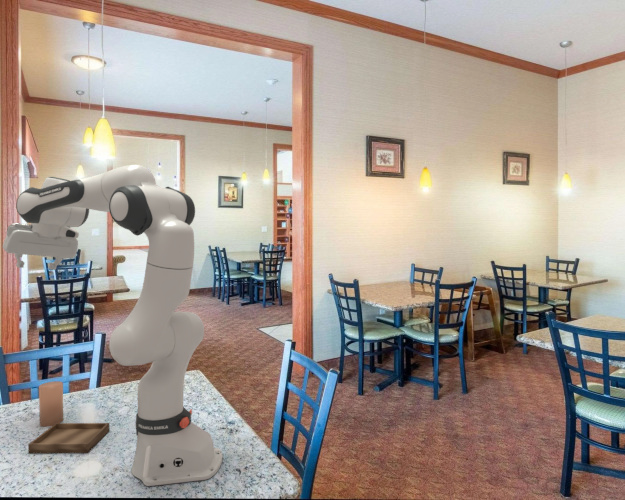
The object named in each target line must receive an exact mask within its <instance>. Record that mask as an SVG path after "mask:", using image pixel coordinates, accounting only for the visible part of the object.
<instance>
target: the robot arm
mask: <svg viewBox="0 0 625 500" xmlns="http://www.w3.org/2000/svg"><path fill="white" fill-rule="evenodd" d="M15 206H16V207H15V208H16V212H17V214H18V215H19V216H20V217H21V219H23V220H24V222H26V223H19V222H14V223H12V224H10V225H8V227H7V228H6V229H7V230H6V237H5V238H4V240H3V244H2V249H3V250H4V251H5V252H6V253H8V254H14V257H15V259H16V265H15V266H16V267H17V268H21V269H22V268H23V269H24V268H25V267H24V266H25V262H24V261H23V260H22V258H23V256H24V255H25V256H26V255H27V256H39V257H40V256H41V257H53V258H55V259H54V261H53V262H50V263H49V266H48V268H49V270H54V271H55V270H56V271H57V267H58V265H59V264H61V262H62V261H63V259H73V258H74V257H76V255H77V252H78V249H79V248H78V247H79V240H78V238H79V235H80V234H79V232H78V231H77V230H76V229H74V228H79V227H81V226H82V225H84V224H85V223H86V222H87V219H88V218H89V214H90V210H92V211H99V212H104V213H109V214H110V216H111V217H110V218H112V219H113V221H114V222H115V223H116V224H117V226H119V227H121V228H123V229H124V230H125V229H126V230H128V231H130V232H131V233H132V234H133V235H135V236H137V237H138V236H141V235H142V234H145V236H146V237H147V240H148V250H147V257H146V264H145V271H144V277H143V283H142V289H141V291H140V295H139V296H138V300H137V301H136V304H135V305H134V306H133V308H132V310H131V312H130V313H129V315H128V316H126V318H125V319H124V321H123V322H121V323H120V324H119V325H118V326H117V327H115V328H114V329H113V331H112V333H111V335H110V338H109V344H108V345H109V352H110V354H111V357H112V358H113V359H114V361H116V363H118V364H119V365H120V366H125V367H128V366H130V367H132V366H139V365H140V366H141V365H142V366H143V365H147V364H149V363H151V365H150V368H149V369H148V371H147V372H146V373H145V374H144V375H143V376H142V377H141V378H140V380H139V382H138V385H137V413H136V415H135V416H136V417H135V433H136V436H137V437H136V446H135V455H134V459H133V463H132V465H131V473H132V475H133V476H134V477H135V478H137V479H139V480H141V481H142V483H143V485H144V486H147V487H152V486H162V485H169V484H170V485H172V484H178V483H187V482H188V483H189V482H197V481H203V480H204V481H205V480H209V479H211V478H212V477H213V476H215V475H216V474H217V473H218V471H219V470H220V467H222V463H223V452H222V450H221V449H220V448H219V447H214V446H215V445H214V441H213V438H212V436H211V434H210V433H209V432H208V431H206V430H205V429H203V428H201V427H200V426H199V425H197V424H195V423H194V422H192V414H193V413H192V411H193V410H192V409H193V408H190V410H187V409H186V407H184V391H185V390H184V386H185V376H186V372H187V369H188V366H189V362H190V361H191V358H192V356H193V354H194V352H195V351H196V349H197V347H198V346H199V345H200V344H201V342H202V341H203V340H204V336H205V325H204V322H203V320H202V319H201V317H200V316H199V314H196V313H195V312H191V311H190V312H189V311H176V310H177V309H178V307H179V306H181V304H183V302H185V300H187V299H188V296H189V294H190V289H191V281H192V275H193V268H194V259H195V235H194V230H193V228H192V226H191V224H192V223H193V222H194V219H195V217H196V216H195V215H196V207H195V203H194V200H193V199H192V198H191V196H189V195H188V194H186V193H185V192H182V191H180V190H177V189H174V188H173V187H170V186H165V187H160V186H158V185H157V182H156V178H155V175H154V174H153V172H152V171H151V170H150V169H148V167H146V166H143V165H142V164H129V165H123V166H118V167H115V168H113V169H110V170H108V171H105V172H102V173H100V174H96V175H93V176H87V177H84V178H80V179H79V178H78V179H74V180H69V179H65V178H61V177H56V176H48V177H46V178H45V180H44V181H43V183H42V186H41V187H40V188H37V187H33V186H31V187H29V188H27V189H25V190H24V191H22V192H21V193H20V194H19V196H18V197H17V199H16V205H15Z"/></svg>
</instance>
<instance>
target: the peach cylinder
mask: <svg viewBox="0 0 625 500" xmlns="http://www.w3.org/2000/svg"><path fill="white" fill-rule="evenodd" d="M63 385H64V382H62V381H57V380H55V381H48V382H44V383H41V384H40V385H39V386H38V400H39V401H38V403H39V404H38V405H39V406H38V407H39V408H38V409H39V426H41V427H43V428H45V427H46V428H47V427H49V428H50V427H52V426H53V425H54V424H56V423H63V422H64V393H63V392H64V389H63V388H64V387H63Z"/></svg>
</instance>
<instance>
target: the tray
mask: <svg viewBox="0 0 625 500" xmlns="http://www.w3.org/2000/svg"><path fill="white" fill-rule="evenodd" d="M109 432H110V423H109V422H77V423H76V422H74V423H73V422H71V423H69V422H68V423H66V422H64V423H63V422H61V423H56V424H54V425H53V426H49V428H48V429H47V430H45V431H44V432H42V433H41V434H39V436H37V437H36V438H35V439H33V440H32V441H30V443H28V446H27V447H28V450H27V451H28V454H89V453H90V452H91V451H92V449H93V448H94V447H96V446H97V444H98V443H99V442H101V441H102V440H103V438H105V437H106V436H107V435H108V434H109Z"/></svg>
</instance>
